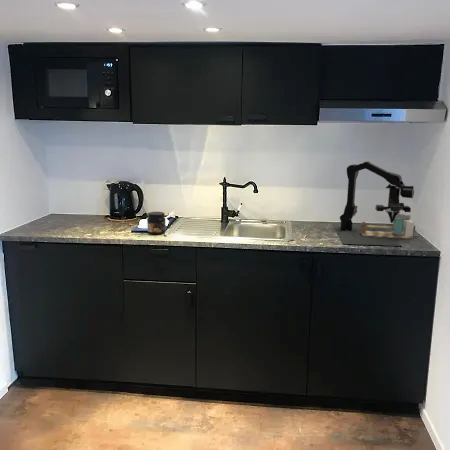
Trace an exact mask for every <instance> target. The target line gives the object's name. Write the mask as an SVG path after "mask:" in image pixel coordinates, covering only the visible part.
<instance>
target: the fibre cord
mask: <svg viewBox="0 0 450 450" xmlns="http://www.w3.org/2000/svg"><path fill="white" fill-rule="evenodd" d="M366 228H376V229H394V226H393V225H391V226H389V225H372V224H370V225H369V224H366ZM402 229H405V227H402Z"/></svg>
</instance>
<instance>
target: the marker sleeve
mask: <svg viewBox="0 0 450 450" xmlns="http://www.w3.org/2000/svg"><path fill="white" fill-rule="evenodd" d="M402 225H403V220H402V219H401V218H395V219H394V221H393V223H392V226H394V229H392V228H391V229H392V231H391V232H393V233H394V234H396V235H402V232H403V231H402Z"/></svg>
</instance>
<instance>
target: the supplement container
mask: <svg viewBox="0 0 450 450" xmlns="http://www.w3.org/2000/svg"><path fill="white" fill-rule="evenodd" d="M146 221H147V224H146V225H147V233H148V234H149V235H151V236H160V235H165V233H166V218H165V212H164V211H150V212H148V213H147V218H146Z"/></svg>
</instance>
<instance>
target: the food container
mask: <svg viewBox="0 0 450 450" xmlns="http://www.w3.org/2000/svg"><path fill="white" fill-rule="evenodd" d="M395 218H401V219H402V220H403V223H404V220H411V219H412V218H411V214H409V215H408V214H407V215H406V214H402V213H398V214H397V215H396V217H395ZM402 227H403V225H402ZM402 232H403V229H402Z"/></svg>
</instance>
